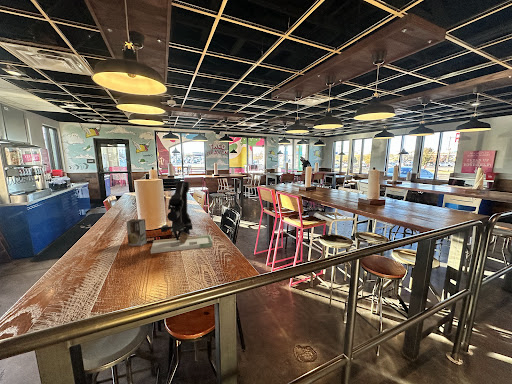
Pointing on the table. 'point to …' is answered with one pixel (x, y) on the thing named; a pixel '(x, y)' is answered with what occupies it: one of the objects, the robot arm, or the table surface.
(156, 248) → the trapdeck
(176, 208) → the robot arm
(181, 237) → the block
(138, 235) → the coffee box
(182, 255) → the table surface
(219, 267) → the table surface
